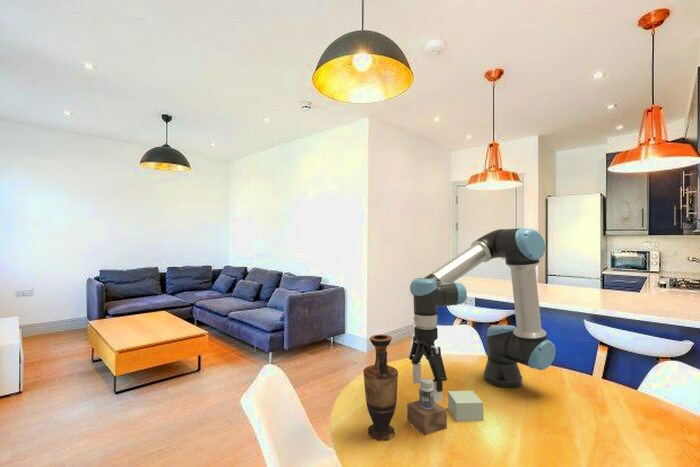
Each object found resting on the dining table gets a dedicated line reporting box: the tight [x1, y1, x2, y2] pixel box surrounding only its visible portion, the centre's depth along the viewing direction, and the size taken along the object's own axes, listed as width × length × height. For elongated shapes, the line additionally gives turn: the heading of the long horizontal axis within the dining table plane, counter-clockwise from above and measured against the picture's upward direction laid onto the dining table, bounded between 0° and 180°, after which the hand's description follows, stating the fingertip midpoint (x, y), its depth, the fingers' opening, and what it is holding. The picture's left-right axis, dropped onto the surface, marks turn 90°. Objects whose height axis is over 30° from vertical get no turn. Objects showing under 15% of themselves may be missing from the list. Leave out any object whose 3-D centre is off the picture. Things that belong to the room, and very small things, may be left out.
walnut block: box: [406, 400, 448, 436], centre depth 112 cm, size 9×9×6 cm
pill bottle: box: [418, 377, 434, 410], centre depth 112 cm, size 5×5×8 cm
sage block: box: [447, 390, 484, 422], centre depth 118 cm, size 9×9×6 cm
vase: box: [363, 334, 399, 441], centre depth 107 cm, size 11×11×30 cm
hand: (426, 391), depth 112 cm, fingers open, 13 cm apart
